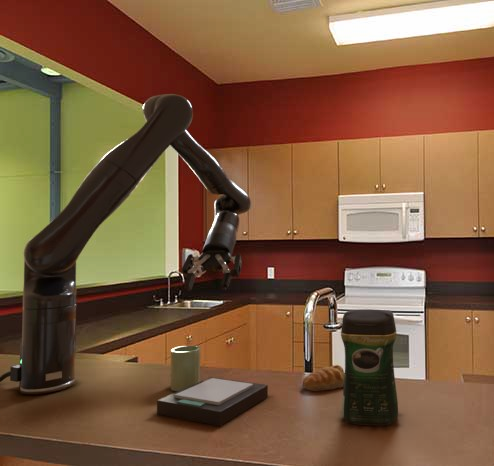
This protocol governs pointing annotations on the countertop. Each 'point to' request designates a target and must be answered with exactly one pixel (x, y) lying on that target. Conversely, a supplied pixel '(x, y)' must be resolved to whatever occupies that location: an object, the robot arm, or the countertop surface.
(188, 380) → the cup
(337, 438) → the countertop surface
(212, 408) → the scale
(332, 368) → the pastry
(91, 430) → the countertop surface
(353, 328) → the coffee jar
